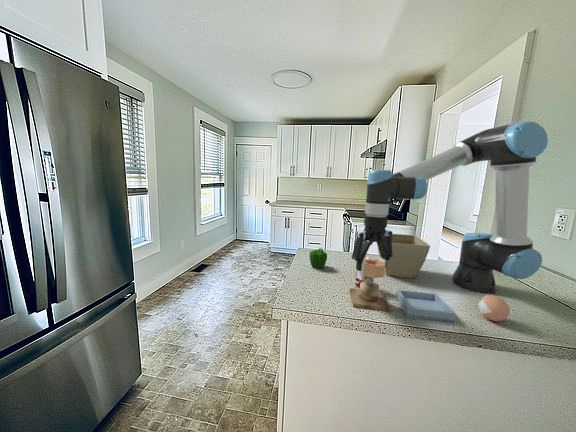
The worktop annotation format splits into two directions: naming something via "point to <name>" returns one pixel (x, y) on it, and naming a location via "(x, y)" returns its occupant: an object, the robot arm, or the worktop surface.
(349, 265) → the worktop surface
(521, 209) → the robot arm
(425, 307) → the tray
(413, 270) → the flower pot
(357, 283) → the soda can
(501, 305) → the toy ball
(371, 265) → the ring
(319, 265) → the bell pepper
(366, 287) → the stake
